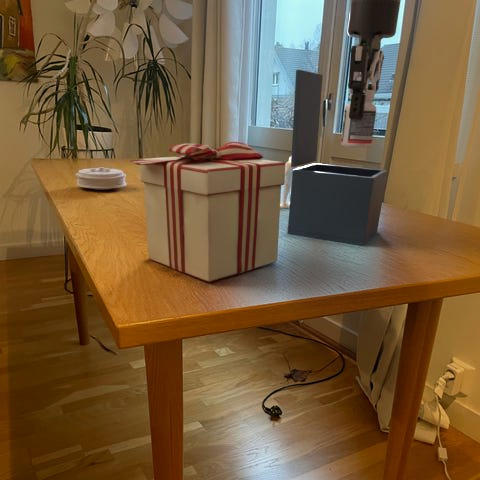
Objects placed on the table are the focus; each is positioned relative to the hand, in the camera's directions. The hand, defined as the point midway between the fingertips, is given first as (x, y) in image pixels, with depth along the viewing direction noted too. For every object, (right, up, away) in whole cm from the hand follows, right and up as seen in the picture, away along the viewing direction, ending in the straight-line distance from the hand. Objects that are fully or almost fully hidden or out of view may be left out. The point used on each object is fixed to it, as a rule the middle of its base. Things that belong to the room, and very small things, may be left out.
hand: (359, 118), depth 81 cm
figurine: (-9, -7, +33) cm, 35 cm away
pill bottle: (0, -4, +2) cm, 5 cm away
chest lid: (-8, +2, +6) cm, 10 cm away
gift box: (-26, -25, -7) cm, 37 cm away
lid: (-57, 0, +45) cm, 72 cm away
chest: (-2, -17, +12) cm, 21 cm away
